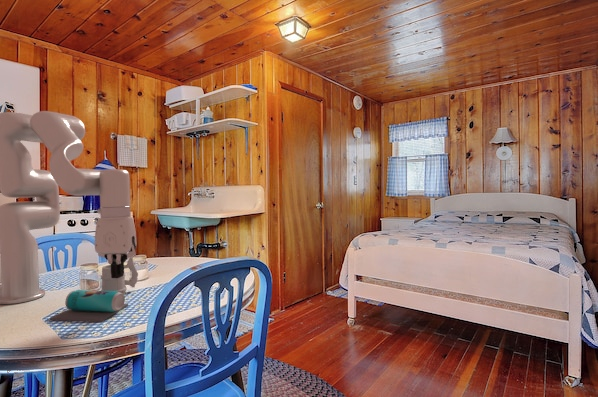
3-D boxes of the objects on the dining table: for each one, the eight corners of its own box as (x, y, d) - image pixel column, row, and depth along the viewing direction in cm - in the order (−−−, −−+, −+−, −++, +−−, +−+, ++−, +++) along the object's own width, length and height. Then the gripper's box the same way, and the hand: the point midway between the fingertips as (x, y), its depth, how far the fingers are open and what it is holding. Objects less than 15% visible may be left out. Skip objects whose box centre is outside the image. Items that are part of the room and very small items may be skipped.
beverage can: (112, 295, 93) (63, 294, 95) (114, 315, 94) (65, 313, 96) (125, 288, 99) (78, 286, 101) (126, 306, 100) (80, 305, 102)
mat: (50, 319, 93) (50, 317, 93) (82, 304, 104) (82, 302, 104) (101, 321, 91) (100, 319, 91) (128, 306, 103) (128, 304, 103)
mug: (96, 295, 113) (95, 260, 112) (133, 287, 122) (132, 254, 121) (105, 300, 108) (104, 263, 107) (142, 291, 117) (141, 257, 116)
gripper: (81, 214, 93) (83, 280, 93) (132, 214, 91) (134, 281, 92) (100, 212, 100) (102, 273, 101) (148, 211, 99) (149, 274, 99)
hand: (117, 276), depth 96 cm, fingers closed
